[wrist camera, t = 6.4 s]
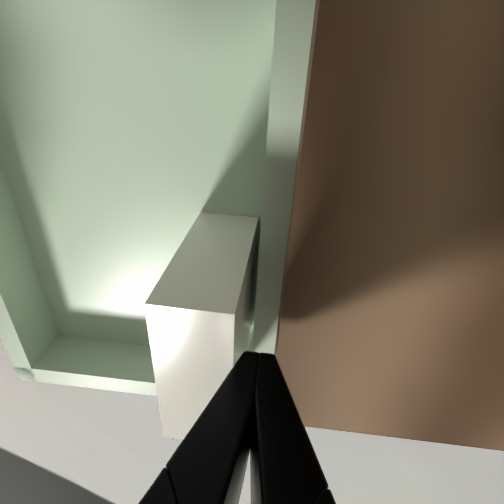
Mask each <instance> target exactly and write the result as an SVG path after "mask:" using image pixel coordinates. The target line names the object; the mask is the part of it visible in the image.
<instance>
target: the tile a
mask: <svg viewBox="0 0 504 504" xmlns="http://www.w3.org/2000/svg"><path fill="white" fill-rule="evenodd" d="M257 228H258V217H248V216H237V215H227V214H217V213H206V212H200V214H199V215H198V217H197V219H196V220H195V222H194V223H193V225H192V227H191V228H190V230H189V232H188V233H187V235H186V237H185V238H184V240H183V241H182V243H181V245H180V246H179V248H178V250H177V251H176V253H175V254H174V256H173V258H172V259H171V261H170V263H169V264H168V266H167V268H166V269H165V271H164V272H163V274H162V276H161V277H160V279H159V281H158V282H157V284H156V286H155V287H154V289H153V290H152V292H151V294H150V295H149V297H148V299H147V300H146V302H145V303H144V306H145V313H146V320H147V327H148V334H149V341H150V348H151V355H152V362H153V369H154V377H155V384H156V391H157V398H158V405H159V412H160V419H161V426H162V433H163V437H168V438H174V439H181V440H183V439H184V438H185V436H186V435H187V433H188V432H189V430H190V429H191V428H192V426H193V425H194V423H195V422H196V420H197V419H198V417H199V416H200V414H201V413H202V411H203V410H204V409H205V407H206V406H207V404H208V403H209V401H210V400H211V398H212V397H213V395H214V394H215V392H216V391H217V390H218V388H219V387H220V385H221V384H222V382H223V381H224V379H225V378H226V376H227V375H228V373H229V372H230V371H231V369H232V368H233V366H234V365H235V363H236V362H237V360H238V359H239V357H240V356H241V354H242V353H243V352H244V351H247V347H248V341H249V335H250V329H251V318H252V303H253V288H254V273H255V258H256V243H257Z"/></svg>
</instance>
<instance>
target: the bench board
mask: <svg viewBox="0 0 504 504" xmlns="http://www.w3.org/2000/svg"><path fill="white" fill-rule="evenodd" d="M274 355H275V356H276V358H277V361H278V363H279V366H280V368H281V371H282V373H283V375H284V378H285V380H286V383H287V385H288V388H289V390H290V393H291V395H292V398H293V400H294V403H295V405H296V407H297V410H298V412H299V415H300V417H301V420H302V422H303V425H304V426H307V427H315V428H323V429H331V430H339V431H347V432H355V433H364V434H372V435H380V436H388V437H396V438H404V439H412V440H420V441H428V442H436V443H444V444H452V445H461V446H469V447H477V448H485V449H493V450H501V451H504V0H316V3H315V11H314V19H313V28H312V36H311V45H310V53H309V62H308V70H307V79H306V87H305V96H304V104H303V113H302V121H301V130H300V138H299V147H298V155H297V164H296V172H295V181H294V189H293V198H292V206H291V215H290V223H289V232H288V240H287V249H286V257H285V266H284V274H283V283H282V291H281V300H280V308H279V317H278V325H277V334H276V342H275V351H274Z"/></svg>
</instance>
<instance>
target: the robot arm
mask: <svg viewBox="0 0 504 504" xmlns="http://www.w3.org/2000/svg"><path fill="white" fill-rule="evenodd" d="M249 452H250V475H251V504H336V503H335V500H334V498H333V495H332V493H331V491H330V490H329V489H328V484H327V481H326V479H325V476H324V474H323V471H322V469H321V466H320V464H319V461H318V459H317V457H316V454H315V452H314V449H313V447H312V444H311V442H310V439H309V437H308V434H307V432H306V430H305V427H304V425H303V422H302V420H301V417H300V415H299V412H298V410H297V407H296V405H295V403H294V400H293V398H292V395H291V393H290V390H289V388H288V385H287V383H286V380H285V378H284V375H283V373H282V371H281V368H280V366H279V363H278V361H277V358H276V356H275V355H274V354H271V353H262V352H261V353H258V352H253V351H244V352H243V353H242V354H241V356H240V357H239V359H238V360H237V362H236V363H235V365H234V366H233V368H232V369H231V371H230V372H229V373H228V375H227V376H226V378H225V379H224V381H223V382H222V384H221V385H220V387H219V388H218V390H217V391H216V392H215V394H214V395H213V397H212V398H211V400H210V401H209V403H208V404H207V406H206V407H205V409H204V410H203V411H202V413H201V414H200V416H199V417H198V419H197V420H196V422H195V423H194V425H193V426H192V428H191V429H190V430H189V432H188V433H187V435H186V436H185V438H184V439H183V441H182V442H181V444H180V445H179V447H178V448H177V449H176V451H175V452H174V454H173V455H172V457H171V458H170V460H169V461H168V463H167V464H166V468H163V470H162V471H161V473H160V474H159V476H158V477H157V478H156V480H155V481H154V483H153V484H152V486H151V487H150V488H149V490H148V491H147V493H146V494H145V495H144V497H143V498H142V499H141V501H140V502H139V504H238V503H239V499H240V494H241V489H242V485H243V480H244V475H245V471H246V466H247V462H248V457H249Z"/></svg>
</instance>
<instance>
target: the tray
mask: <svg viewBox="0 0 504 504" xmlns="http://www.w3.org/2000/svg"><path fill="white" fill-rule="evenodd" d="M315 3H316V0H0V339H1V341H2V344H3V346H4V348H5V350H6V353H7V355H8V357H9V359H10V361H11V364H12V366H13V368H14V370H15V372H16V375H17V377H18V379H21V380H29V381H37V382H45V383H54V384H62V385H70V386H78V387H86V388H95V389H103V390H111V391H119V392H128V393H136V394H144V395H152V396H157V391H156V384H155V377H154V369H153V362H152V355H151V348H150V341H149V334H148V327H147V320H146V313H145V306H144V303H145V302H146V300H147V299H148V297H149V295H150V294H151V292H152V290H153V289H154V287H155V286H156V284H157V282H158V281H159V279H160V277H161V276H162V274H163V272H164V271H165V269H166V268H167V266H168V264H169V263H170V261H171V259H172V258H173V256H174V254H175V253H176V251H177V250H178V248H179V246H180V245H181V243H182V241H183V240H184V238H185V237H186V235H187V233H188V232H189V230H190V228H191V227H192V225H193V223H194V222H195V220H196V219H197V217H198V215H199V214H200V212H206V213H217V214H227V215H237V216H248V217H258V228H257V243H256V258H255V273H254V288H253V303H252V318H251V329H250V335H249V341H248V347H247V351H253V352H258V353H261V352H262V353H271V354H274V351H275V342H276V334H277V325H278V317H279V308H280V300H281V291H282V283H283V274H284V266H285V257H286V249H287V240H288V232H289V223H290V215H291V206H292V198H293V189H294V181H295V172H296V164H297V155H298V147H299V138H300V130H301V121H302V113H303V104H304V96H305V87H306V79H307V70H308V62H309V53H310V45H311V36H312V28H313V19H314V11H315Z"/></svg>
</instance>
